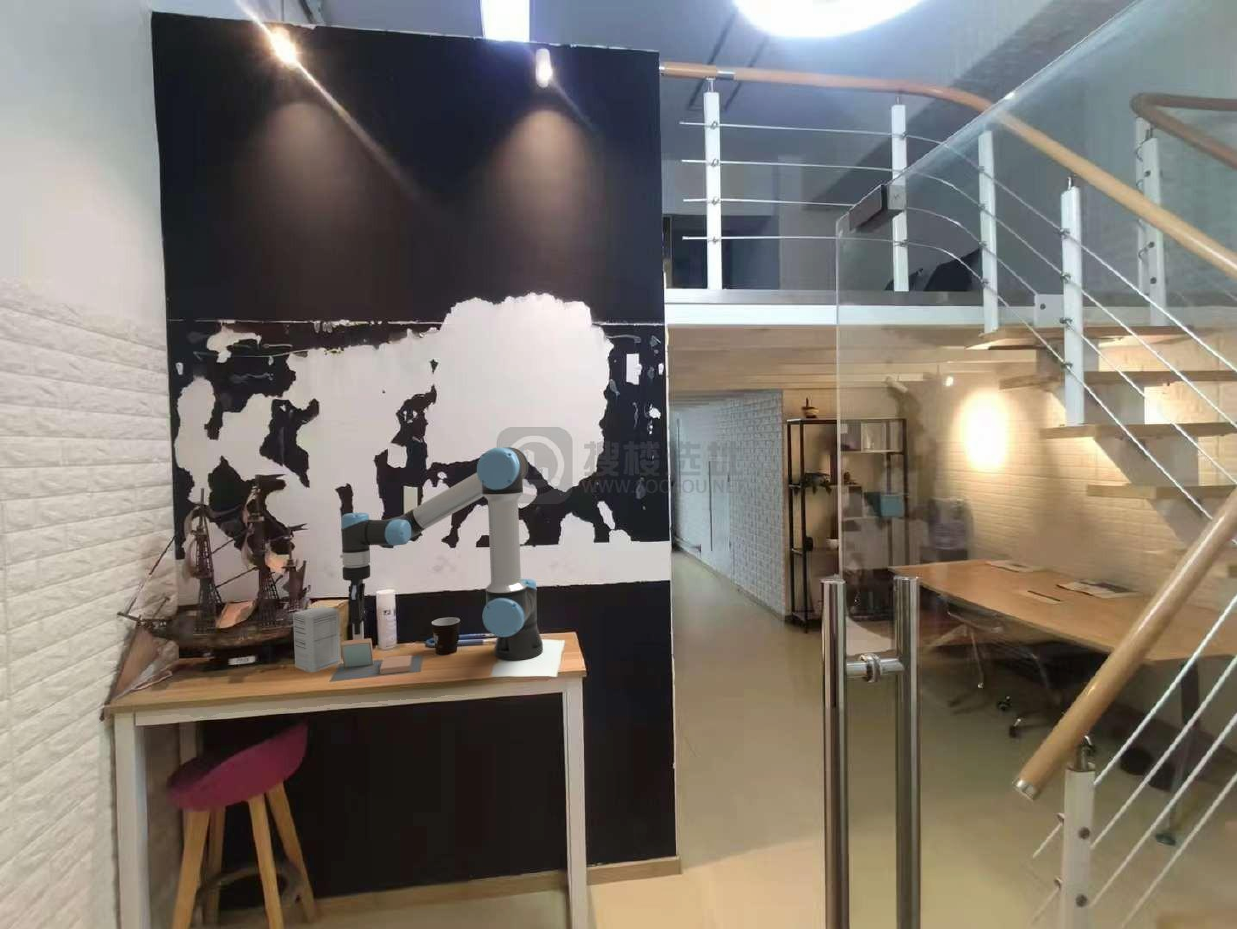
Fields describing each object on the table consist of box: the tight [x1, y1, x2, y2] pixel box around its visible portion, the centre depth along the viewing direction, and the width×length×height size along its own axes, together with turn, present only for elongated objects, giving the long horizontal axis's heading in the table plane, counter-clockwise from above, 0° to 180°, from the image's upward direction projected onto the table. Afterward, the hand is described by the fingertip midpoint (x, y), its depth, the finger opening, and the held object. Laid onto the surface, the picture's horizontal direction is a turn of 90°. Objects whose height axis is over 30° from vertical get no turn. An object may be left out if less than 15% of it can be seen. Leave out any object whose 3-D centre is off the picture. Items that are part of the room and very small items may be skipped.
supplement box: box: [292, 605, 342, 674], centre depth 175 cm, size 10×9×17 cm
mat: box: [329, 654, 424, 682], centre depth 173 cm, size 24×14×1 cm, turn 105°
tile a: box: [380, 654, 413, 674], centre depth 173 cm, size 8×2×9 cm
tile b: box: [340, 637, 375, 668], centre depth 173 cm, size 8×2×9 cm, turn 105°
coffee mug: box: [431, 616, 461, 656], centre depth 184 cm, size 12×9×10 cm
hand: (358, 643), depth 174 cm, fingers closed
